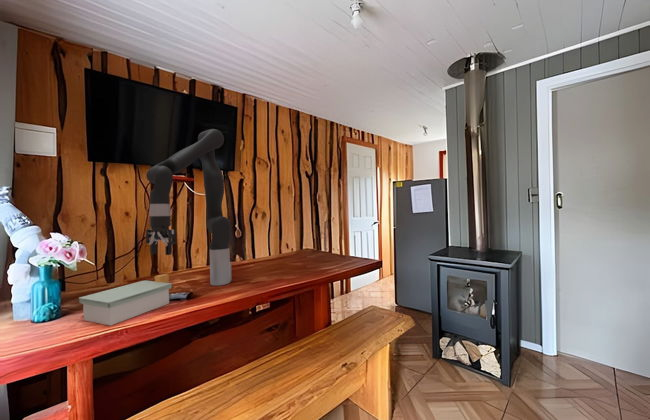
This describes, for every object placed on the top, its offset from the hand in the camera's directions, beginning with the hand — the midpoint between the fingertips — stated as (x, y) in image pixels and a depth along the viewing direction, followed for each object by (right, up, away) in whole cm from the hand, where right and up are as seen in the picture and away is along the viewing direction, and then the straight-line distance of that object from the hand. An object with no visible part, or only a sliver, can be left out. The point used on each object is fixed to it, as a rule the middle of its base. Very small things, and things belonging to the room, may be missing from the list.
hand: (161, 254), depth 113 cm
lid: (-4, -13, -10) cm, 17 cm away
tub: (-4, -19, -12) cm, 23 cm away
